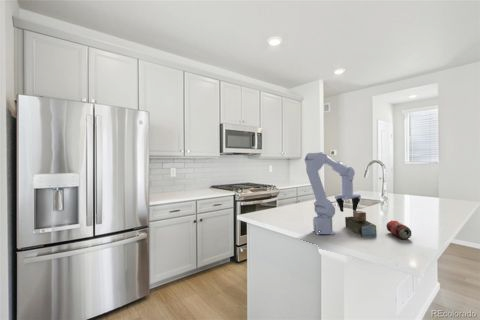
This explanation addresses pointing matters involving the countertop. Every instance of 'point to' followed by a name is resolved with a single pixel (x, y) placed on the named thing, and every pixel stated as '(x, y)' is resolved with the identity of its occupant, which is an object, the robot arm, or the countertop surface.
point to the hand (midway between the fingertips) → (348, 211)
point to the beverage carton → (361, 227)
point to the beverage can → (399, 229)
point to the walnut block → (359, 215)
